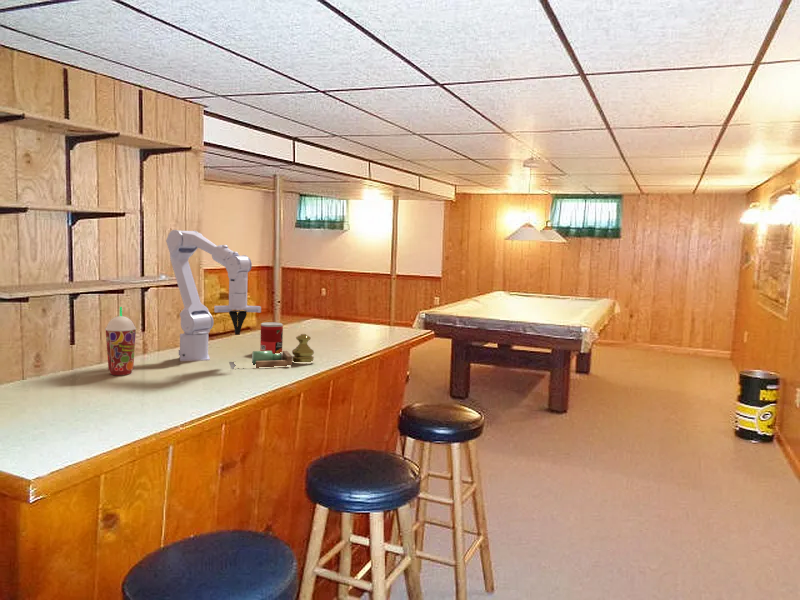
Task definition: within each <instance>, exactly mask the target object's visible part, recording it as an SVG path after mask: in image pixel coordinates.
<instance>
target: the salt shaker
mask: <svg viewBox="0 0 800 600" xmlns="http://www.w3.org/2000/svg"><path fill="white" fill-rule="evenodd" d="M295 338H296V340H297V341H298V343H299V344H298V345H297V346H296V347H294V348H293V349H292V351H291V353H292V354H291V356H292V355H293V356H292V361H294V362H311V361H313V360H314V358H315V357H314V353H315V350H314V349H313V348H311V346H309V344H308V342H310V340H311V339H312V336H309V335H308V334H306V333H301V334H300V335H297V336H296V337H295ZM314 361H315V360H314Z"/></svg>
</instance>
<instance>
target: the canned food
mask: <svg viewBox="0 0 800 600" xmlns="http://www.w3.org/2000/svg"><path fill="white" fill-rule="evenodd" d="M283 333H284V325H283V323H281V322H274V321H273V322H272V321H271V322H270V321H269V322H268V321H267V322H262V323H260V347H259V348H260V350H259V351H272V354H275V353H280V352H282V353H283V342H284V341H283V337H284V335H283Z"/></svg>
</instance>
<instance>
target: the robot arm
mask: <svg viewBox="0 0 800 600" xmlns="http://www.w3.org/2000/svg"><path fill="white" fill-rule="evenodd" d="M165 242H166V245H167V249H168V253H169V259H170V263H171V266H172V270H173V273H174V276H175V279H176V284H177V287H178V290H179V295H180V297H181V300H182V304H183V307H184V308H183V309H182V310H181V311H180V313H179V317H180V327H181V329H182V331H183V333H179V350H178V356H179V362H196V361H197V362H200V361H210V360H211V358H210V354H209V333H211V332H210V331H211V330H212V328H214V327H213V326H214V323H215V322H214V316H213V315H212V314H211V313H210V310H209V308H208V307H207V306H205V304H203V303H202V302H201V299H200V298H201V297H200V295H199V293H198V289H197V286H196V281H195V279H194V276H193V272H192V268H191V266H190V262H189V260H190V257H192V256H193V255H194V254H195V252H196V251H197V250H198V249H199V250H201V251H204V252H205V253H208V254H210V255H211V257H212V260H213V261H214V262H216V263H218V264H220V265H222V266H223V267H225V269H226V272H227V277H228V283H229V284H228V305H214V309H213V312H214V313H217V314H218V313H228V314H229V316H230V318H231V321H232V322H231V323H232V325H233V328H234V329H233V330H234V335H235V336H240V335H241V330H242V327H243V324H244V321H245V319H246V317H247V313H258V314H259V313H262V306H260V305H248V281H249V280H248V279H249V277H248V276H249V275H248V273H249V272H251V270H252V266H253V265H252V260H251V258H250V257H248V255H246V254H245V255H244V254H243V255H240V254H239V252H238V251H233V250H232V249H230V248H229V246H228V245H227V244H218V245H216V244H215V243H214V242H212V241H211V240H210V239H208V238H207V237H205V236H203V233H202V232H199V231H197V230H180V229H179V230H177V229H172V230H170V232H168V236H167V238H166V240H165Z"/></svg>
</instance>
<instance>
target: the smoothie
mask: <svg viewBox="0 0 800 600" xmlns="http://www.w3.org/2000/svg"><path fill="white" fill-rule="evenodd" d="M104 329H105V342H106V353H107V354H106V355H107V356H106V357H107V368H108V371H109V374H110V375H113V376H126V375H130V374H132V372H133V371H132V370H133V369H134V366H135V365H134V364H135V350H136V334H137V333H136V332H137V327H136V326H135V324H134V322H133V320H132V319H131V318H130V317H128V316H124V315H123V306H119V315H117V316H115V317H113V318H111V319H110V320H109V321H108V323H107V326H106V327H105V328H104Z"/></svg>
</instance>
